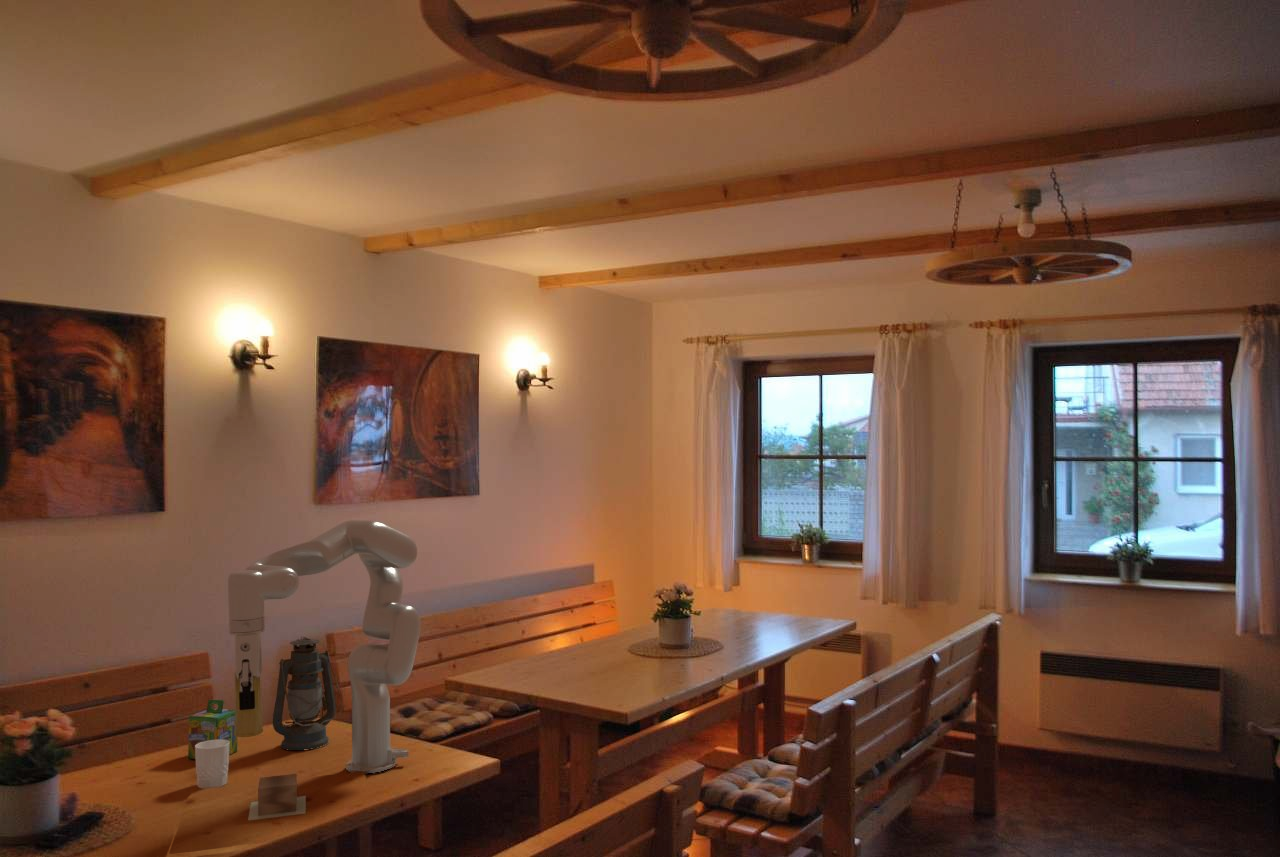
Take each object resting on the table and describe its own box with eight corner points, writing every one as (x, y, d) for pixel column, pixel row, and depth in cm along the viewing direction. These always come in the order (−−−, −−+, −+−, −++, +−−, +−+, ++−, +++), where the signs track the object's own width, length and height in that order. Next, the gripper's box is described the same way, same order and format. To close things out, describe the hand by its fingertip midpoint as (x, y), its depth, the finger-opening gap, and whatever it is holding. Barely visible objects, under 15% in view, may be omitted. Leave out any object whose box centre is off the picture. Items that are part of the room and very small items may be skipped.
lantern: (323, 732, 288) (322, 629, 289) (351, 741, 279) (350, 635, 280) (260, 748, 273) (260, 640, 274) (288, 758, 264) (288, 646, 265)
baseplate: (305, 800, 231) (305, 795, 231) (305, 817, 220) (305, 813, 220) (251, 806, 228) (251, 802, 228) (247, 824, 216) (247, 820, 216)
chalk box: (187, 759, 264) (187, 704, 264) (209, 749, 273) (209, 695, 273) (217, 761, 262) (217, 705, 262) (238, 751, 271) (238, 697, 271)
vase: (239, 730, 225) (238, 667, 226) (266, 729, 226) (265, 666, 226) (230, 738, 219) (228, 674, 219) (258, 737, 220) (256, 673, 220)
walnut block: (296, 799, 229) (296, 773, 229) (296, 811, 221) (296, 784, 221) (259, 803, 226) (259, 777, 226) (258, 815, 219) (258, 788, 219)
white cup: (216, 790, 239) (216, 749, 239) (187, 789, 240) (187, 747, 240) (236, 780, 246) (236, 740, 247) (208, 778, 248) (208, 738, 248)
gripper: (261, 631, 216) (263, 713, 216) (266, 617, 232) (268, 694, 232) (224, 633, 213) (226, 717, 213) (232, 620, 230) (234, 698, 230)
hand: (248, 704), depth 223 cm, fingers closed on vase, 5 cm apart
